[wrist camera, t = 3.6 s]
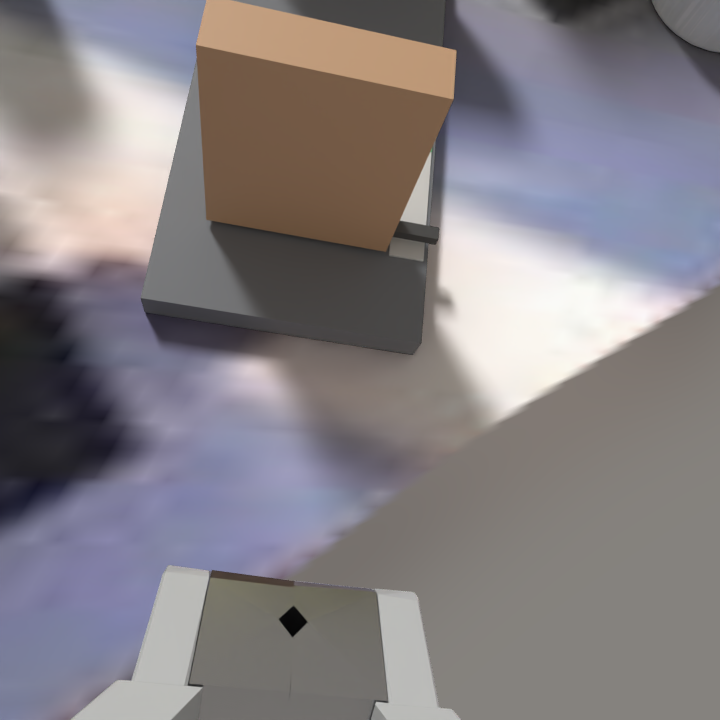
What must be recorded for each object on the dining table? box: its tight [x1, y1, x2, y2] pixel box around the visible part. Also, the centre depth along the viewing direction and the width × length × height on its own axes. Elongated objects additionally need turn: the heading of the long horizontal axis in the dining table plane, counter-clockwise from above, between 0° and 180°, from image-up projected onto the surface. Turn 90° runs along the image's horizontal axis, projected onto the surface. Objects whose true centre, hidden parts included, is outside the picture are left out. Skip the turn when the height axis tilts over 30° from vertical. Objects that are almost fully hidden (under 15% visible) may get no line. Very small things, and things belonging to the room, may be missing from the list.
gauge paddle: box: [196, 0, 457, 252], centre depth 26 cm, size 2×10×10 cm, turn 84°
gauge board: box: [141, 0, 446, 355], centre depth 30 cm, size 24×12×10 cm, turn 174°
